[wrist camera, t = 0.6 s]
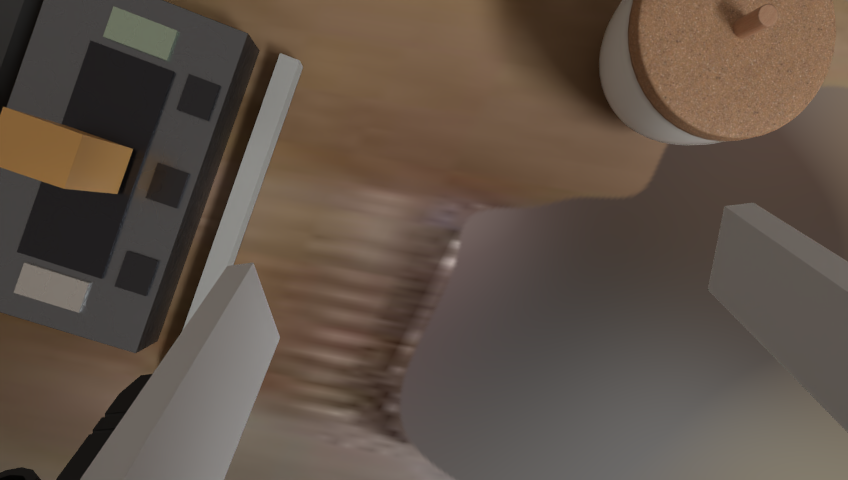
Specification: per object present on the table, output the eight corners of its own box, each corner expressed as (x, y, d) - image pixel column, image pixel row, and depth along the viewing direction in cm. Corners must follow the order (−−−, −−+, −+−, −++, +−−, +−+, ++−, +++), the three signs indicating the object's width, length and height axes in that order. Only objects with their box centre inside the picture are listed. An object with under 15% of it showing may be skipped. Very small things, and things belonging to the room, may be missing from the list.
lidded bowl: (538, 90, 35) (612, 31, 24) (636, -41, 35) (752, -157, 24) (661, 191, 36) (784, 179, 26) (753, 64, 37) (914, -1, 26)
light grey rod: (192, 380, 33) (184, 387, 32) (173, 374, 33) (164, 381, 32) (302, 67, 33) (299, 60, 32) (283, 59, 33) (280, 52, 32)
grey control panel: (157, 341, 33) (134, 353, 30) (-18, 287, 32) (-62, 294, 29) (259, 50, 33) (246, 32, 30) (88, -16, 32) (55, -43, 28)
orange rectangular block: (117, 194, 29) (63, 188, 24) (52, 171, 29) (-17, 162, 24) (133, 149, 29) (82, 134, 24) (68, 126, 29) (3, 106, 24)
